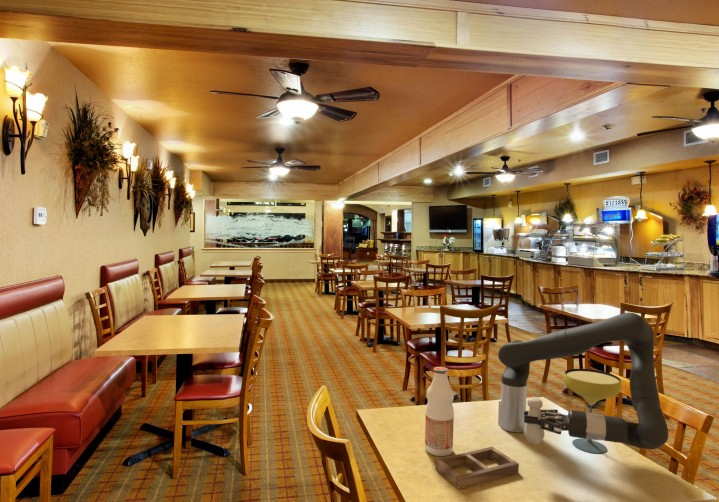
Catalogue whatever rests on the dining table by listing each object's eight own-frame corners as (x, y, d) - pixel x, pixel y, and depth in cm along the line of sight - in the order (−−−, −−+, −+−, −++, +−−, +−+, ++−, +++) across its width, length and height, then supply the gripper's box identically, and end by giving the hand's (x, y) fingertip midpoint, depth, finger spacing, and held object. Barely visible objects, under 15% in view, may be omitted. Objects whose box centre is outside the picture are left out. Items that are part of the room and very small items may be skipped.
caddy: (435, 469, 139) (435, 459, 139) (491, 455, 149) (491, 446, 149) (459, 489, 128) (459, 478, 128) (518, 473, 138) (518, 463, 138)
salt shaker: (545, 446, 133) (547, 403, 133) (525, 444, 134) (526, 401, 134) (541, 437, 139) (542, 396, 138) (522, 435, 140) (523, 394, 140)
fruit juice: (433, 458, 146) (435, 374, 145) (419, 445, 154) (421, 365, 154) (458, 454, 149) (460, 371, 148) (443, 442, 158) (445, 363, 157)
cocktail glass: (549, 439, 162) (552, 370, 161) (586, 431, 169) (589, 366, 168) (592, 462, 145) (595, 386, 144) (631, 453, 152) (634, 381, 151)
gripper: (583, 404, 138) (524, 396, 144) (590, 422, 125) (524, 413, 131) (582, 428, 138) (523, 419, 144) (589, 448, 125) (524, 438, 131)
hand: (524, 416), depth 137 cm, fingers closed on salt shaker, 3 cm apart
